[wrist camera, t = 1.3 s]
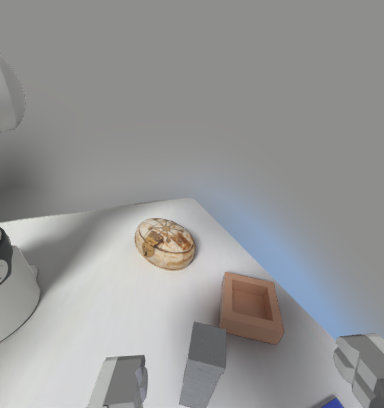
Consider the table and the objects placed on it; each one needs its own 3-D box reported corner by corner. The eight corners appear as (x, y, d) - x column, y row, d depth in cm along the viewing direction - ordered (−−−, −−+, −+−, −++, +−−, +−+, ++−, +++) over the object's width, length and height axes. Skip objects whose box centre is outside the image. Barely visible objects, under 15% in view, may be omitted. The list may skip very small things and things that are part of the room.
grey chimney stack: (177, 405, 27) (187, 358, 20) (183, 371, 30) (194, 321, 24) (205, 413, 27) (225, 368, 20) (208, 378, 30) (226, 329, 23)
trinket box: (141, 232, 57) (140, 208, 53) (194, 238, 57) (198, 215, 53) (125, 269, 45) (123, 242, 41) (192, 277, 46) (197, 251, 42)
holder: (218, 330, 36) (223, 318, 34) (221, 284, 45) (225, 271, 43) (276, 345, 35) (284, 332, 33) (267, 294, 44) (273, 282, 42)
